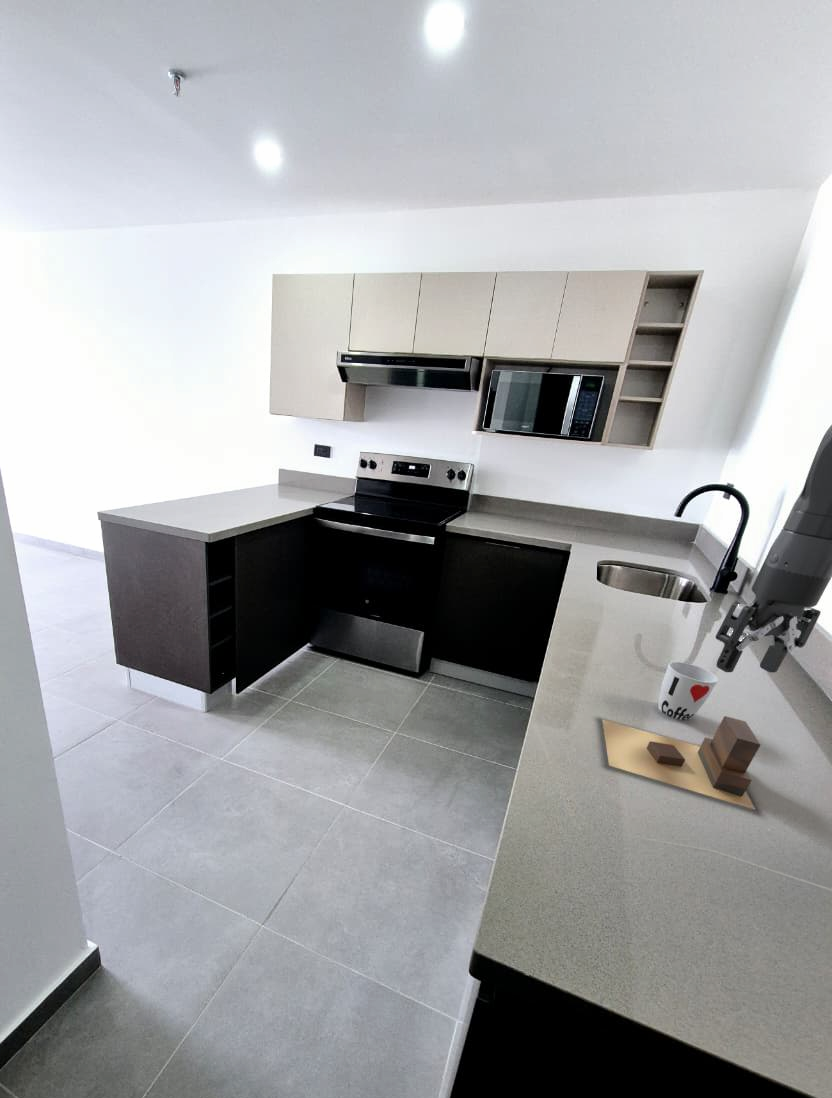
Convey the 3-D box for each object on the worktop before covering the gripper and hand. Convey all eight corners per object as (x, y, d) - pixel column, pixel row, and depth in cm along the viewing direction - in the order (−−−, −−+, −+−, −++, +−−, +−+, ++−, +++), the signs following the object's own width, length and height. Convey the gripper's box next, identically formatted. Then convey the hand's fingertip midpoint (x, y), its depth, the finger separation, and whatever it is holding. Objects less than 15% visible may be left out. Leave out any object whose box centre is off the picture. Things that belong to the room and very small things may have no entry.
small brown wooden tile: (670, 752, 84) (673, 744, 84) (681, 767, 81) (685, 759, 80) (646, 748, 85) (649, 740, 84) (656, 762, 81) (660, 755, 80)
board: (723, 758, 86) (726, 753, 86) (752, 814, 74) (755, 809, 73) (600, 723, 92) (602, 719, 92) (607, 770, 79) (609, 765, 79)
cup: (647, 716, 97) (667, 670, 93) (651, 700, 103) (670, 657, 99) (695, 733, 93) (718, 687, 89) (696, 716, 99) (718, 672, 95)
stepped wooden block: (723, 760, 84) (746, 717, 81) (742, 796, 76) (768, 751, 72) (697, 752, 85) (718, 710, 82) (712, 787, 77) (736, 742, 73)
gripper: (785, 572, 64) (730, 683, 71) (865, 577, 67) (805, 682, 74) (733, 556, 71) (687, 658, 77) (808, 561, 74) (758, 658, 81)
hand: (745, 670), depth 76 cm, fingers open, 8 cm apart
